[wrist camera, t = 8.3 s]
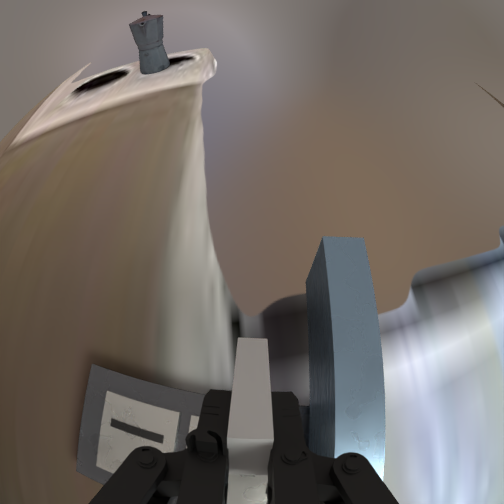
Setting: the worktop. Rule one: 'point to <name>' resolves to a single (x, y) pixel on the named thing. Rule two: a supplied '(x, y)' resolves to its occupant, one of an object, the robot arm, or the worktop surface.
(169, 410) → the plate
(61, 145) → the worktop surface
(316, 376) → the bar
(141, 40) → the moka pot
